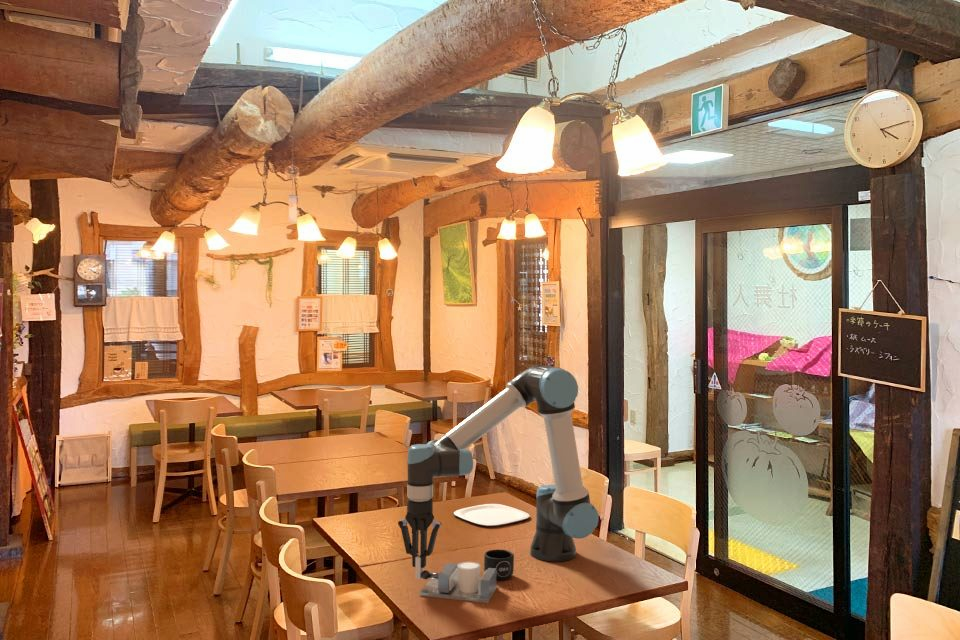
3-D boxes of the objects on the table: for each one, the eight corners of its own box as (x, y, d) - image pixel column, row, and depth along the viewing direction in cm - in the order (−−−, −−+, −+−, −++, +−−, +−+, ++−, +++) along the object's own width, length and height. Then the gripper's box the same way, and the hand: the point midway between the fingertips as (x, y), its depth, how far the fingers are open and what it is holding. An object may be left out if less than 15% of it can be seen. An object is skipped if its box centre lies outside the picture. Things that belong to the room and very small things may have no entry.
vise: (496, 587, 230) (497, 567, 230) (487, 603, 218) (488, 581, 218) (431, 580, 234) (431, 561, 234) (419, 595, 223) (419, 574, 222)
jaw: (459, 580, 231) (459, 563, 231) (450, 593, 222) (450, 575, 221) (426, 577, 234) (426, 560, 234) (415, 589, 224) (416, 572, 224)
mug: (517, 580, 236) (518, 557, 236) (489, 583, 233) (489, 560, 233) (504, 567, 247) (504, 545, 247) (477, 570, 244) (477, 547, 244)
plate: (495, 505, 321) (495, 501, 321) (537, 520, 301) (537, 515, 301) (445, 515, 305) (445, 511, 305) (487, 531, 285) (487, 527, 285)
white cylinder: (478, 594, 222) (478, 570, 221) (454, 592, 223) (454, 568, 223) (482, 585, 228) (483, 562, 228) (459, 583, 230) (460, 560, 229)
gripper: (445, 496, 230) (443, 575, 231) (403, 493, 233) (402, 571, 234) (437, 503, 223) (436, 584, 224) (394, 499, 226) (393, 580, 227)
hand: (419, 577), depth 229 cm, fingers closed
